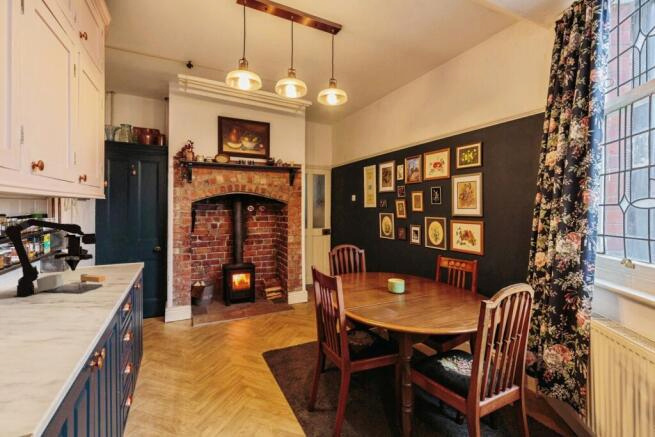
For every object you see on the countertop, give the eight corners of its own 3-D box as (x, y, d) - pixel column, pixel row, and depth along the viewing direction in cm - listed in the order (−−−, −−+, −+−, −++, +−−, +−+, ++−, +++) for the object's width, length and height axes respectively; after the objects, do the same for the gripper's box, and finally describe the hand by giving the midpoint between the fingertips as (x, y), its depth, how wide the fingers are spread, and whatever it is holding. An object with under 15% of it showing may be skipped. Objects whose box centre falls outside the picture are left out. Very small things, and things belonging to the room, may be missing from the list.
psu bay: (82, 293, 171) (82, 286, 170) (46, 292, 170) (46, 285, 170) (102, 286, 187) (102, 279, 186) (70, 285, 186) (70, 279, 186)
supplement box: (47, 275, 181) (36, 278, 169) (62, 273, 183) (52, 276, 172) (48, 287, 181) (37, 291, 169) (64, 285, 183) (54, 289, 172)
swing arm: (78, 280, 183) (78, 275, 183) (85, 278, 187) (85, 273, 186) (98, 282, 179) (98, 277, 179) (105, 281, 183) (105, 275, 183)
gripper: (99, 244, 186) (99, 268, 186) (69, 242, 186) (69, 267, 186) (85, 246, 175) (85, 272, 175) (53, 244, 174) (52, 271, 175)
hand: (73, 270), depth 178 cm, fingers closed
